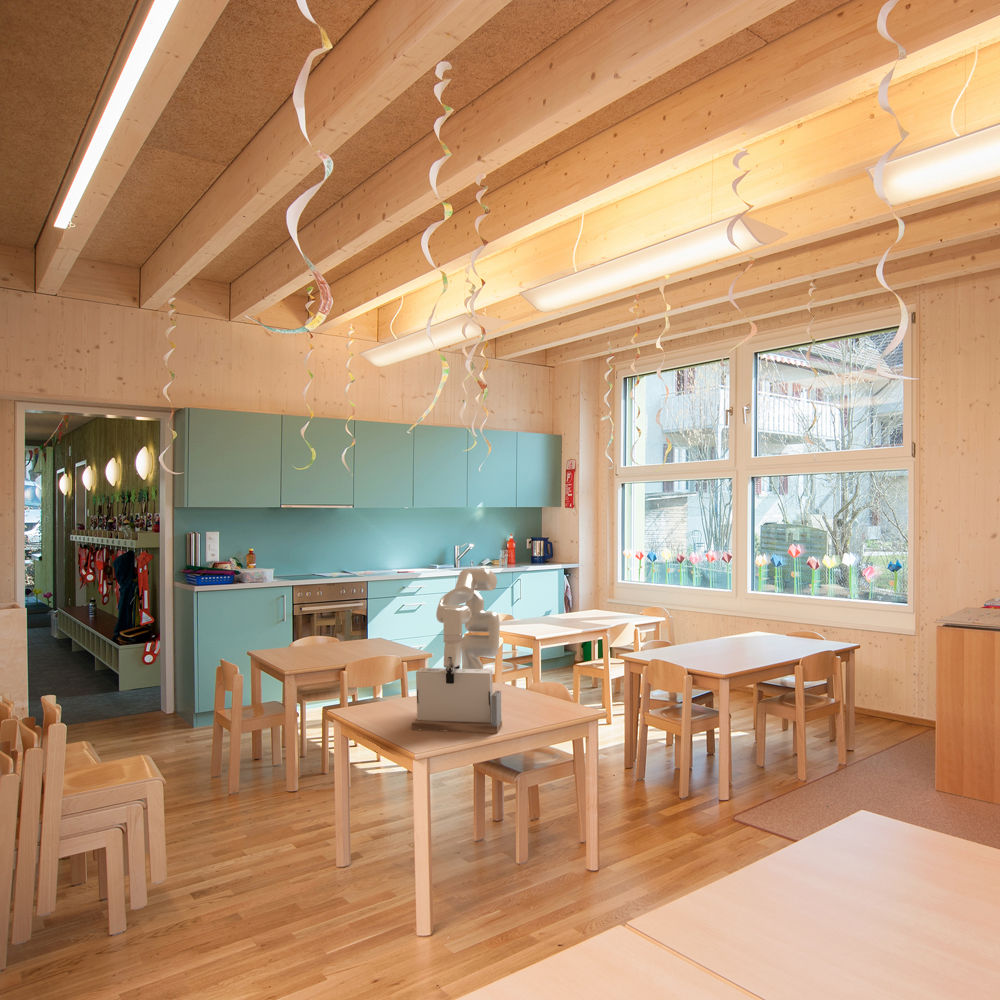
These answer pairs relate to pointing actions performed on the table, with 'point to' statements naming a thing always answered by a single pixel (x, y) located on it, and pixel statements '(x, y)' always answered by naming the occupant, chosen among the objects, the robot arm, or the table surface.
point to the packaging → (454, 695)
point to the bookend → (496, 708)
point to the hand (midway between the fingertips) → (453, 680)
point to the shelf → (456, 726)
